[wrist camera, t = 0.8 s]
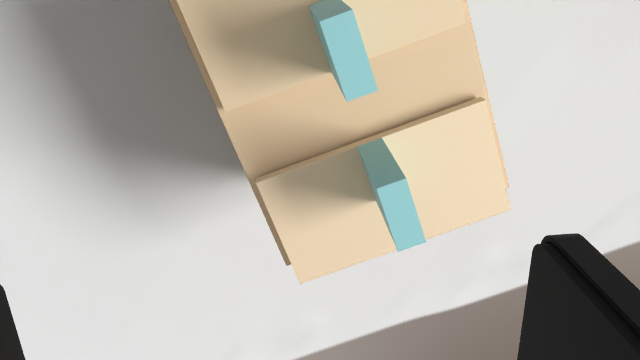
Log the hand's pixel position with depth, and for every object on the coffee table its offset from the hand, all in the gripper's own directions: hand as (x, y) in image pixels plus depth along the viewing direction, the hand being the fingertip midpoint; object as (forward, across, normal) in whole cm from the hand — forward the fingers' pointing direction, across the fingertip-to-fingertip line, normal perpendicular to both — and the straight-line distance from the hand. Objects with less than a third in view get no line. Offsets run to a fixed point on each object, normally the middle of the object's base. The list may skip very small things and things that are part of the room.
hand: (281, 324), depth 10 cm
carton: (+29, -4, +1) cm, 29 cm away
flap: (+17, -5, +5) cm, 18 cm away
